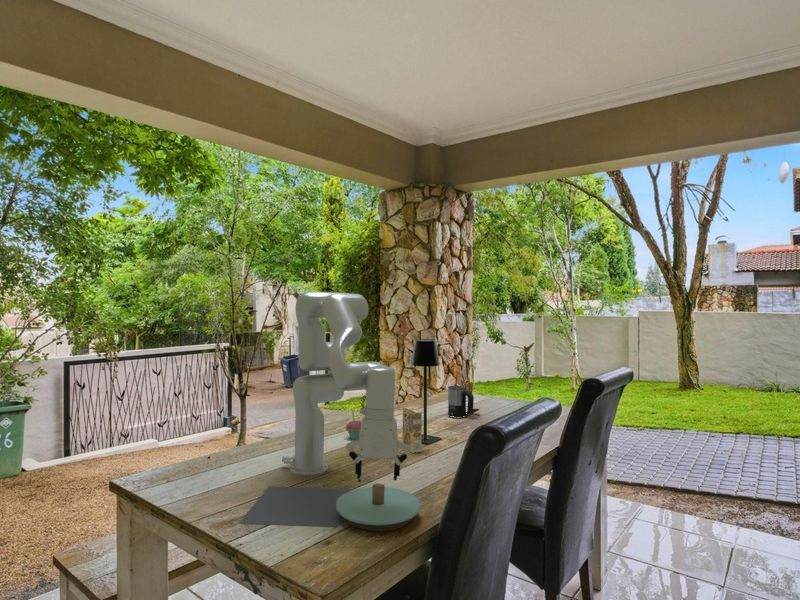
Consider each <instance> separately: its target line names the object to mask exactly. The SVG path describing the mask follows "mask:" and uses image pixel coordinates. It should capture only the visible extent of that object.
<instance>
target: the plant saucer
mask: <svg viewBox="0 0 800 600" xmlns="http://www.w3.org/2000/svg"><path fill="white" fill-rule="evenodd" d="M343 519H344V520H345V521H346V522H347V523H348V524H349V525H351V526H352V527H355V528H357V529H360V530H366V531H371V532H374V531H375V532H383V531H394V530H397V528H398V529H400V528H402V527H404V526H405V525H407V524H408V523H410V521H412V520H413V518H411V519H409V520H407V521H404V522H400V523H396V524H389V525H367V524H360V523H356V522H352V521H350V520H347V519H345V518H343ZM393 529H394V530H393Z"/></svg>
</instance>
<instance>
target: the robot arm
mask: <svg viewBox="0 0 800 600" xmlns="http://www.w3.org/2000/svg"><path fill="white" fill-rule="evenodd" d="M368 303H369V302H368V301H367V299H366V298H365V297H364V296H363V295H361V294H359V293H349V292H332V291H309V292H307V291H306V292H303V293H301V294H300V295H299V296H298V297H297V298H296V303H295V307H294V308H295V309H294V310H295V317H296V321H297V326H298V366H299V367H300V369H301V370H303V371H306V372H319V371H327V373H320V374H319V373H317V374H315V373H314V374H306V375H302V376H299V377H298V378H296V379H295V380H294V382H293V384H292V393H293V394H292V395H293V399H294V408H295V409H294V411H295V415H294V416H295V417H294V418H295V420H294V421H295V423H294V424H295V426H294V428H295V429H294V433H295V434H294V454H293V455H291V456H288V455H283V456H282V457H281V462H282V463H283V464H285V465H287V464H290V466H289V472H291V474H293V475H297V476H316V475H317V476H318V475H321V474H323V473H326V471H328V470H329V465H328V463H327V462H324V451H325V450H324V447H325V445H324V443H325V414H324V413H323V411H322V410H321V408H320V407H319V405H318V404H321V403H323V404H324V403H329V402H331V403H332V402H336V401H340V400H341V399H342V398H343V396H344V393H345V392H349V391H350V392H353V391H361V390H366V391H365V406H364V407H360V408H359V414H362V415H364V416H363V417H362V419H361V421H360V422H361V427H360V436H359V439H357V440H352V441H350V442H348V443H346V444H345V449H346V451H347V453H348V456H349V457H350V459H352V461H353V462H354V463H355V468H354V469H355V470H354V471H355V472H354V473H355V475H357V476H356V479H361V477H362V469H363V467H362V466H363V464H362V460H363V458H364V459H374V460H375V459H379V460H393V462H394V469H393V481H397V480H398V479H397V478H398V477H400V475H401V469H400V468H401V465H402V464H403V462H405V460H406V459H408V456H409V454H410V453H411V452H410V451H411V447H410V446H408V445H406V444H404V443H403V441H401V440H399V438H398V437H399V434H398V424H397V423H398V421H397V418H395V414H394V413H395V394H396V393H395V387H396V371H395V369H394V368H393V367H391V366H387V365H384V364H383V363H381V362H379V361H357V362H355V361H354V362H347V360H346V352H345V349H349V348H350V347H351V346H353V345H355V344H356V343H357V342H359V340H360V339H361V338H362V337H363V336H362V335H363V330H362V327H361V325H360V323H359V321H363V320H365V319H366V318H367V317H368V315H369V311H370V310H369V304H368ZM322 318H323V319H325V320H326V322H327V324H328V325H327V326H328V328H329V330H330V332H331V335H332V336H333V339H334V340H333V341H325V339H326V338H325V337H326V329H325V326H324V324H323V323H322V321H321V320H320V319H322ZM357 446H358V453H356V452H355V451H354V448H355V447H357ZM398 448H399V449H402V450H403V453H402V454H401V455H399V454H398Z"/></svg>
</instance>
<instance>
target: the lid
mask: <svg viewBox="0 0 800 600" xmlns="http://www.w3.org/2000/svg"><path fill="white" fill-rule="evenodd" d="M420 508H421V503H420V499H419V498H418V497H417V496H416V495H414V494H413V493H411V492H409V491H407V490H404V489H400V488H395V487H389V486H385V484H383V483H374V484H372V485H371V486H368V487H362V488H355V489H351V491H349V492H347V493H345V494H343V495H342V496H340V497H339V498H338V500H337V502H336V510H337V512H338V513H339V515H341V518H343V519H344V518H345V519H347V520H350V521H352V522H356V523H360V524H367V525H389V524H396V523H400V522H404V521H407V520H409V519H411V518H412V519H413V518H414V517H416V516H417V515H418V513H419V512H420V511H421V509H420ZM345 519H344V520H345ZM412 519H411V520H412Z"/></svg>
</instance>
